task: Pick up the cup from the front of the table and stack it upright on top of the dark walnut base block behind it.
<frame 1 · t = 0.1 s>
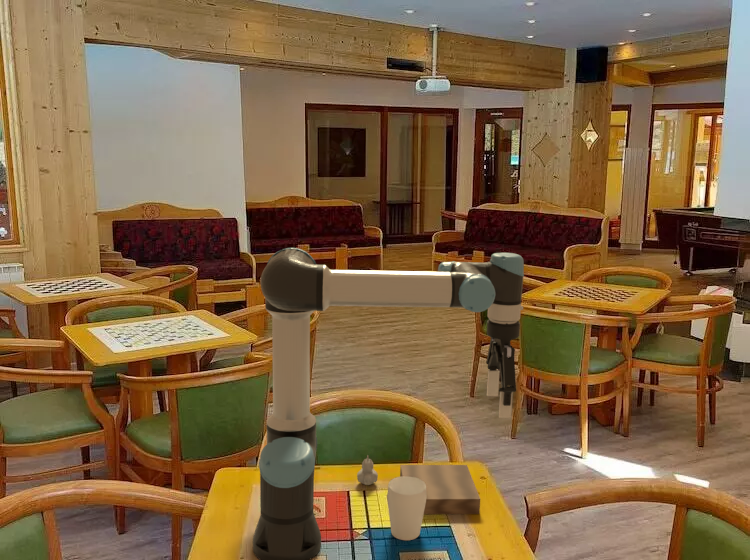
hand: (498, 406, 162), 28 cm above the table, tool pointing down, fingers open, 13 cm apart
walnut base: (437, 495, 175), on the table
cup: (405, 533, 158), on the table
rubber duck: (367, 485, 180), on the table
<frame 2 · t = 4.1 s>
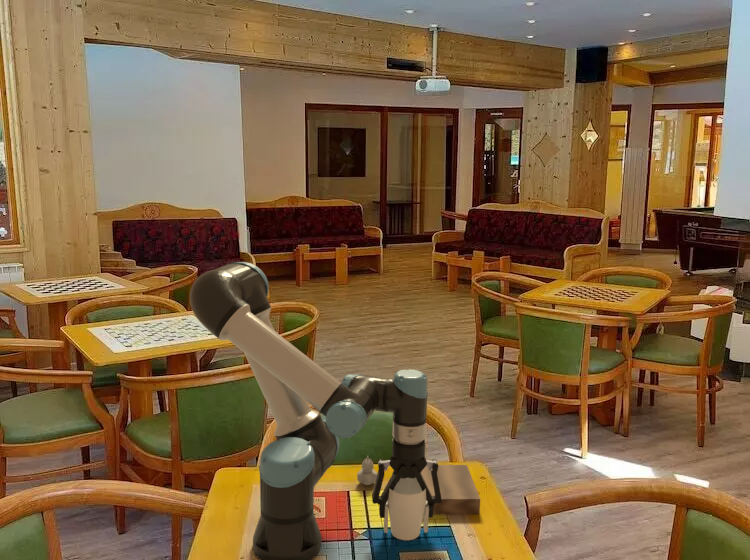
hand: (405, 529, 158), 1 cm above the table, tool pointing down, fingers closed on cup, 9 cm apart
cup: (405, 533, 158), on the table, touching gripper
everything else where it was.
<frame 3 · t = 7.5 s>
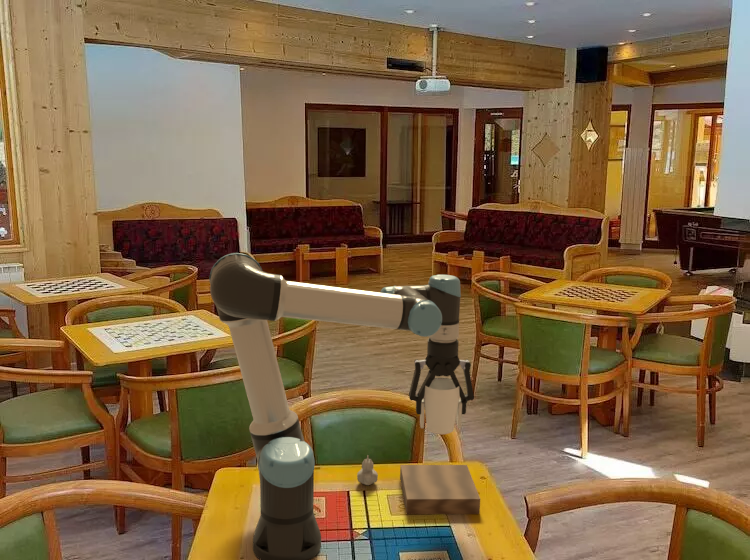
hand: (440, 425, 170), 20 cm above the table, tool pointing down, fingers closed on cup, 9 cm apart
cup: (440, 429, 170), point 19 cm above the table, touching gripper
everything else where it was.
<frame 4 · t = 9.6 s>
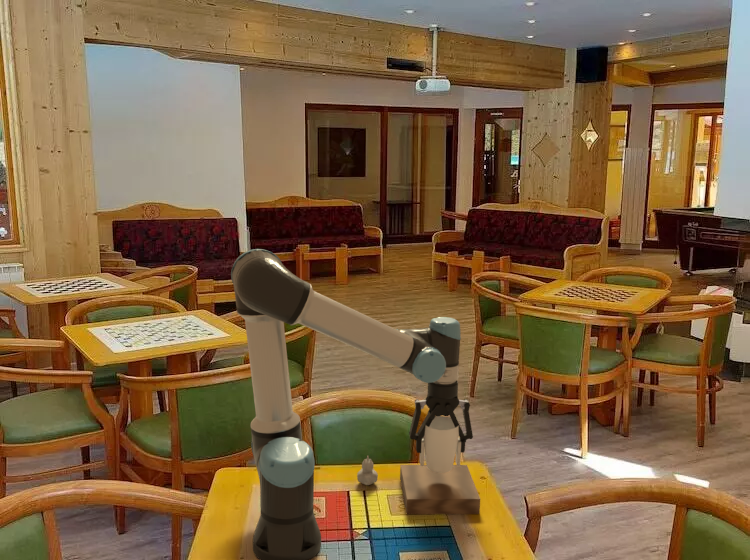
hand: (439, 463, 173), 9 cm above the table, tool pointing down, fingers closed on cup, 9 cm apart
cup: (439, 467, 174), point 8 cm above the table, touching gripper
everything else where it was.
when the fingers open (6 cm above the table, at t = 11.0 s): cup drops 1 cm, resting on walnut base.
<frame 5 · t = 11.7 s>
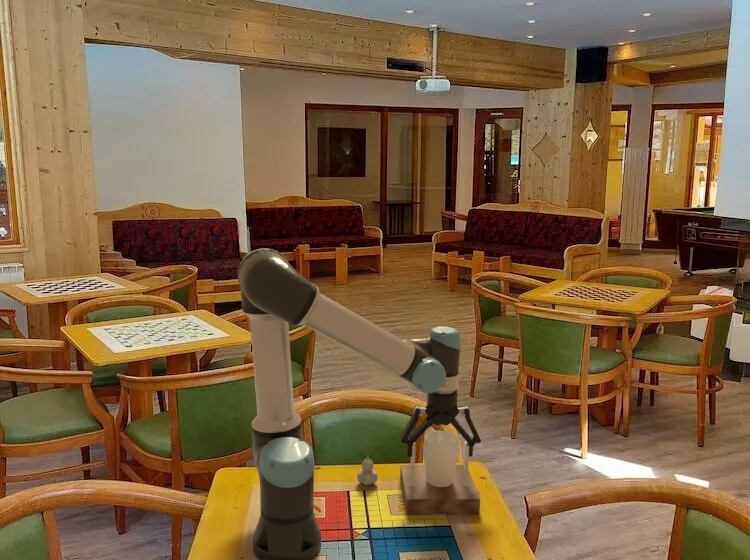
hand: (439, 467, 174), 8 cm above the table, tool pointing down, fingers open, 13 cm apart
cup: (439, 482, 174), point 4 cm above the table, touching walnut base
everything else where it was.
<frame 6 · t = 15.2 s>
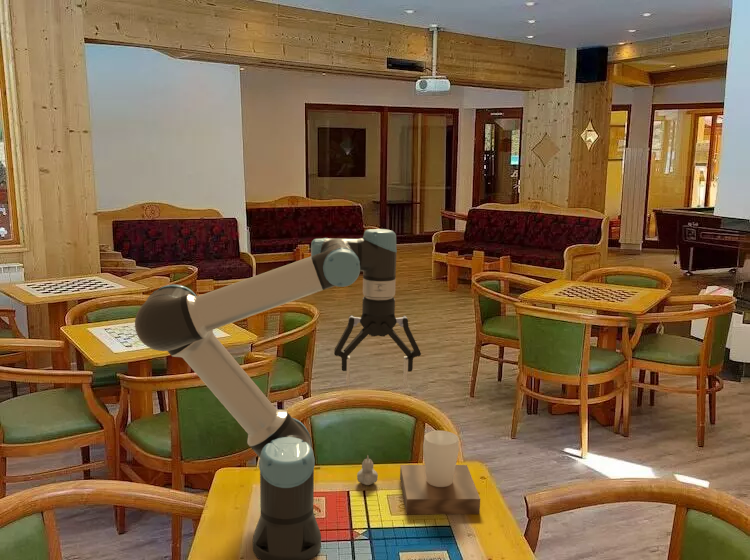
hand: (376, 384, 161), 33 cm above the table, tool pointing down, fingers open, 13 cm apart
nothing on the table moved.
at the end: cup inside the target area on the walnut base (0.2 cm from its centre), point 3.8 cm above the walnut base's base; cup tilted 0°; the gripper is holding nothing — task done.
